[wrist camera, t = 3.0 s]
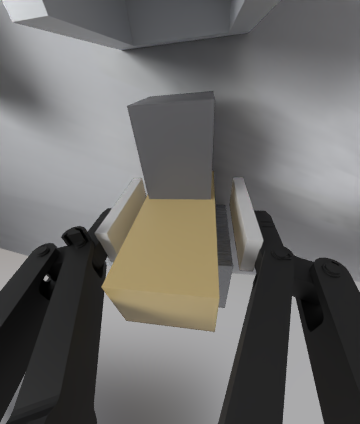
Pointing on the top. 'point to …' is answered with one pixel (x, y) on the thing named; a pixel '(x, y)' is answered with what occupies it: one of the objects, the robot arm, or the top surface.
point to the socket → (140, 19)
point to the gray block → (223, 253)
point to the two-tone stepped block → (171, 218)
